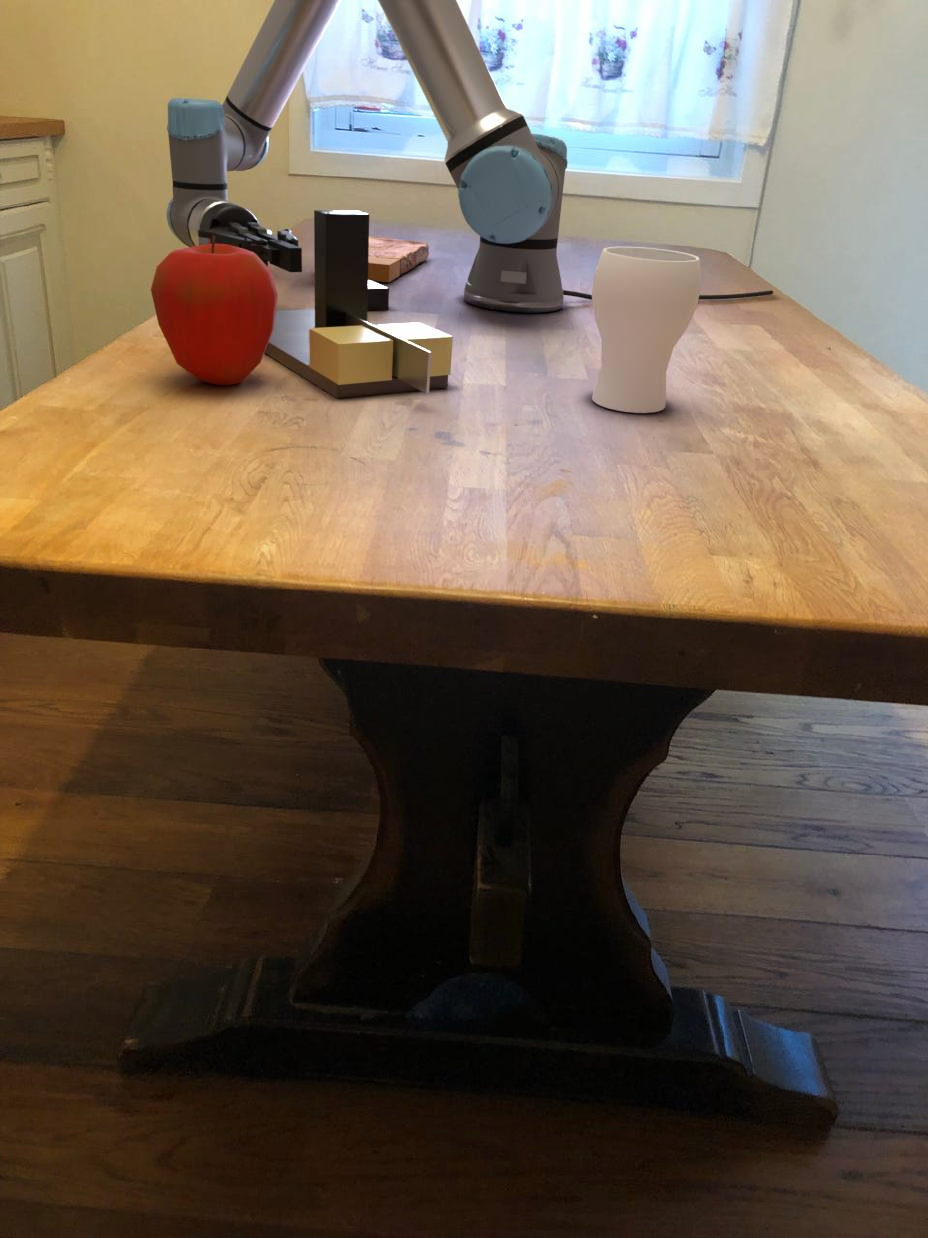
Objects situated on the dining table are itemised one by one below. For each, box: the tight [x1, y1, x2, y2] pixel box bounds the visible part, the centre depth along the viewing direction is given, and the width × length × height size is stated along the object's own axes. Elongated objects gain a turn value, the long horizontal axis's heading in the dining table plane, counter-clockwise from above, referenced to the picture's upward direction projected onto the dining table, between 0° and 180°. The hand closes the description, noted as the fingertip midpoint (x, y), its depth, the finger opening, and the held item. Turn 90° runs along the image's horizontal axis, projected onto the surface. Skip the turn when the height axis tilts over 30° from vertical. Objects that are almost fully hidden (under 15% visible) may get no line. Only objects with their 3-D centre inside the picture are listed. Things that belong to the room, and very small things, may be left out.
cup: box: [591, 245, 702, 414], centre depth 97 cm, size 11×11×15 cm
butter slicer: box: [313, 209, 431, 394], centre depth 97 cm, size 21×5×14 cm, turn 32°
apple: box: [150, 235, 279, 386], centre depth 94 cm, size 12×12×14 cm
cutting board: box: [264, 308, 449, 399], centre depth 110 cm, size 34×13×2 cm, turn 32°
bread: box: [368, 235, 430, 283], centre depth 166 cm, size 13×30×3 cm, turn 169°
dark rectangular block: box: [367, 280, 390, 312], centre depth 136 cm, size 8×6×3 cm
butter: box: [309, 321, 454, 385], centre depth 99 cm, size 7×13×4 cm, turn 122°
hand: (295, 260), depth 112 cm, fingers closed
